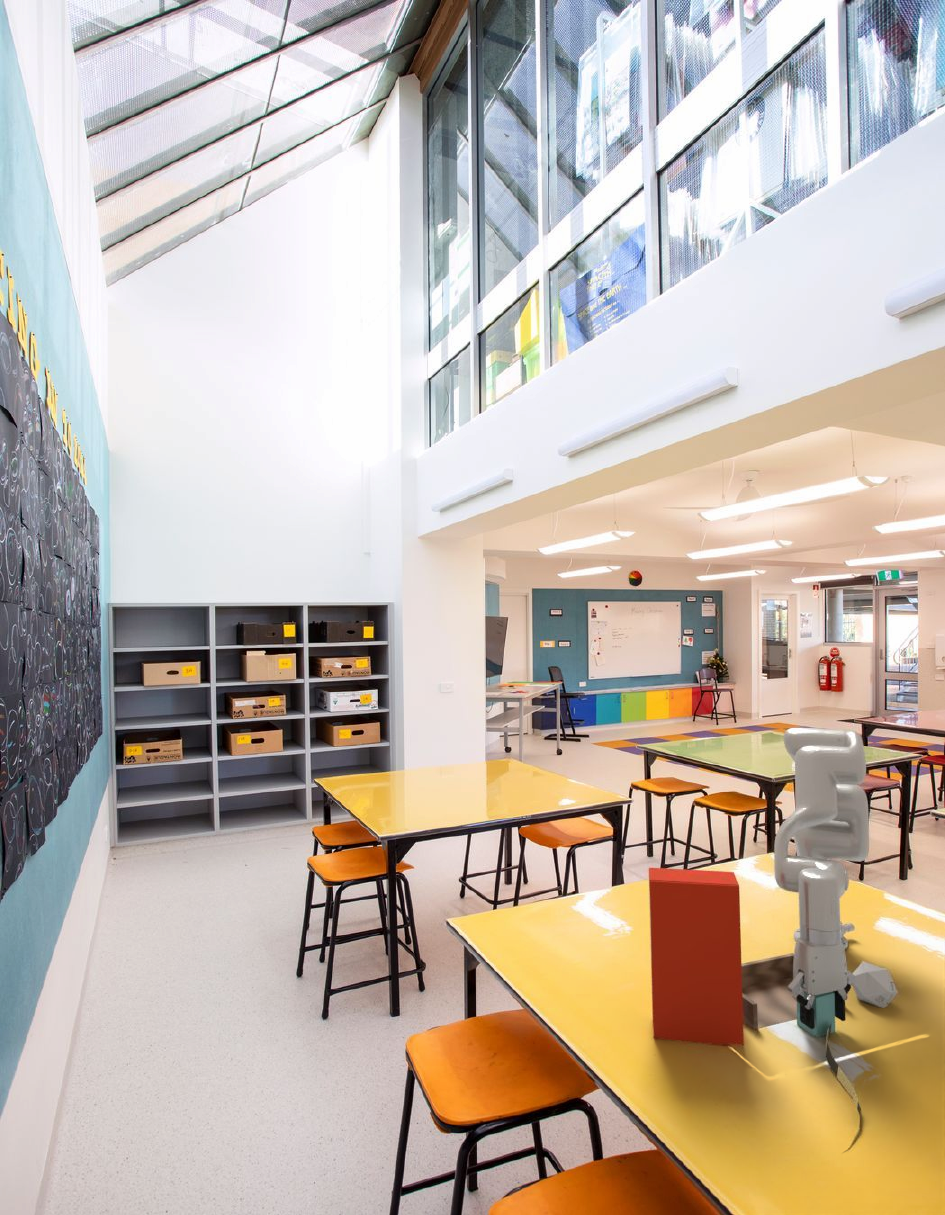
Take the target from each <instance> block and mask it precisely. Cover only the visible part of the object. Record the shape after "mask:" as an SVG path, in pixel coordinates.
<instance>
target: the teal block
mask: <svg viewBox="0 0 945 1215" xmlns="http://www.w3.org/2000/svg"><path fill="white" fill-rule="evenodd" d="M800 988H801V987H800ZM800 988H799V991H800ZM807 997H808V994H807V993H806V994H805V997H804V998H805V999H806V1000H807ZM811 1008H813V1009H814V1023H815V1027H814V1029H810V1028H809V1027H807V1026H806V1025H805V1024H803V1023H802V1022H801V1021H800V1004H799V1003H798V1002H797V1019H796V1025H797V1026H798V1027H800V1028H802V1029H803V1030H804V1031H806V1032H807V1033H809V1034H811V1035H813V1036H814V1037H815V1038H819V1037H822V1036H825V1035H826V1036H827V1030H828V1028H829V1026H830V1024H831V1023H832V1025H831V1033H830V1034H833V1033H836V1017H835V993H834V992H828V993H824V994H819V995H815V998H814V1001H813V1004H812V1006H811Z"/></svg>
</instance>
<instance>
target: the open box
mask: <svg viewBox="0 0 945 1215" xmlns="http://www.w3.org/2000/svg"><path fill="white" fill-rule="evenodd" d="M793 962H794V953H793V952H792V953H787V954H782V955H781V954H780V955H778V956H777V955H776V956H772V957H771V956H770V957H767V958H762V959H757V960H753V961H748V962H747V961H746V962H742V963H741V965H742V1000H743V1023H745V1024H746V1025H747V1026H748V1027H750V1028H751V1029H752V1030H758V1029H762V1028H765V1027H770V1026H773V1025H777V1024H781V1023H782V1024H783V1023H786V1022H790V1021H794V1020H797V1001H796V1000H795V999H794V998H793V996H792V995H791V994H790V992H789V991H788V990H787V987H788V986H789V985H790V983H791V982H792V981H793Z"/></svg>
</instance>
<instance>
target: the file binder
mask: <svg viewBox="0 0 945 1215" xmlns="http://www.w3.org/2000/svg"><path fill="white" fill-rule="evenodd" d="M648 887H649V888H648V891H649V893H648V894H649V896H648V897H649V899H648V900H649V929H650V930H649V933H650V934H649V935H650V936H649V937H650V966H651V967H650V968H651V969H650V970H651V972H650V973H651V1002H652V1006H651V1007H652V1029H653V1039H657V1040H658V1039H659V1040H665V1041H666V1040H668V1041H679V1042H686V1043H687V1042H688V1043H696V1044H707V1045H715V1046H716V1045H717V1046H727V1047H732V1045H739V1046H744V1045H745V1041H744V1039H745V1038H744V1037H745V1036H744V1021H743V1000H742V965H741V964H742V942H741V941H742V939H741V936H742V934H741V905H740V902H741V900H740V898H741V897H740V896H741V894H740V884H739V882H738V879H737V876H736V874H735V873H734V871H724V870H723V871H721V870H719V871H718V870H704V869H701V870H699V869H681V868H664V867H648Z"/></svg>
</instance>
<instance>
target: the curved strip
mask: <svg viewBox="0 0 945 1215" xmlns="http://www.w3.org/2000/svg"><path fill="white" fill-rule="evenodd" d="M831 1025H832V1023H831V1024H830V1026H829V1028H828V1030H827V1034H826V1039H825V1059H826V1061H827V1064H828V1066H829V1068H830V1070H831V1071H832V1073H833V1075H835V1077H836V1078H837V1080H838V1081H839V1082H840V1083H841V1085H842V1086H843V1088H845V1090H846V1091H847V1092H848V1094H849V1095H850V1096H851V1097H852V1100H853V1102H854V1104H855V1107H856V1109H857V1112H858V1115H859V1116H861V1114H862V1113H861V1112H862V1111H861V1110H862V1109H861V1105H860V1102H859V1099H858V1096H857V1094H856V1089H855V1087H854V1086H853V1084H852V1083H851V1082H850V1080H849V1079H848V1077H847V1076H846V1074H845V1073H844V1072H843V1070H842V1069H841V1067H840V1065H839V1064H838V1063H837V1061H836V1060H835V1058H834V1056H833V1055H832V1052H831V1049H830V1046H829V1044H828V1040H829V1038H830V1036H831V1034H832V1033H831ZM860 1129H861V1127H860V1126H859V1128H858V1130H857V1132H856V1134H855V1135H854V1137H853V1140H852V1142H851V1143H850V1146H849V1148H851V1147H852V1145H853V1144H854V1141H855V1140H856V1138H857V1137H858V1134H859V1133H860ZM852 1143H853V1144H852Z"/></svg>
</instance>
